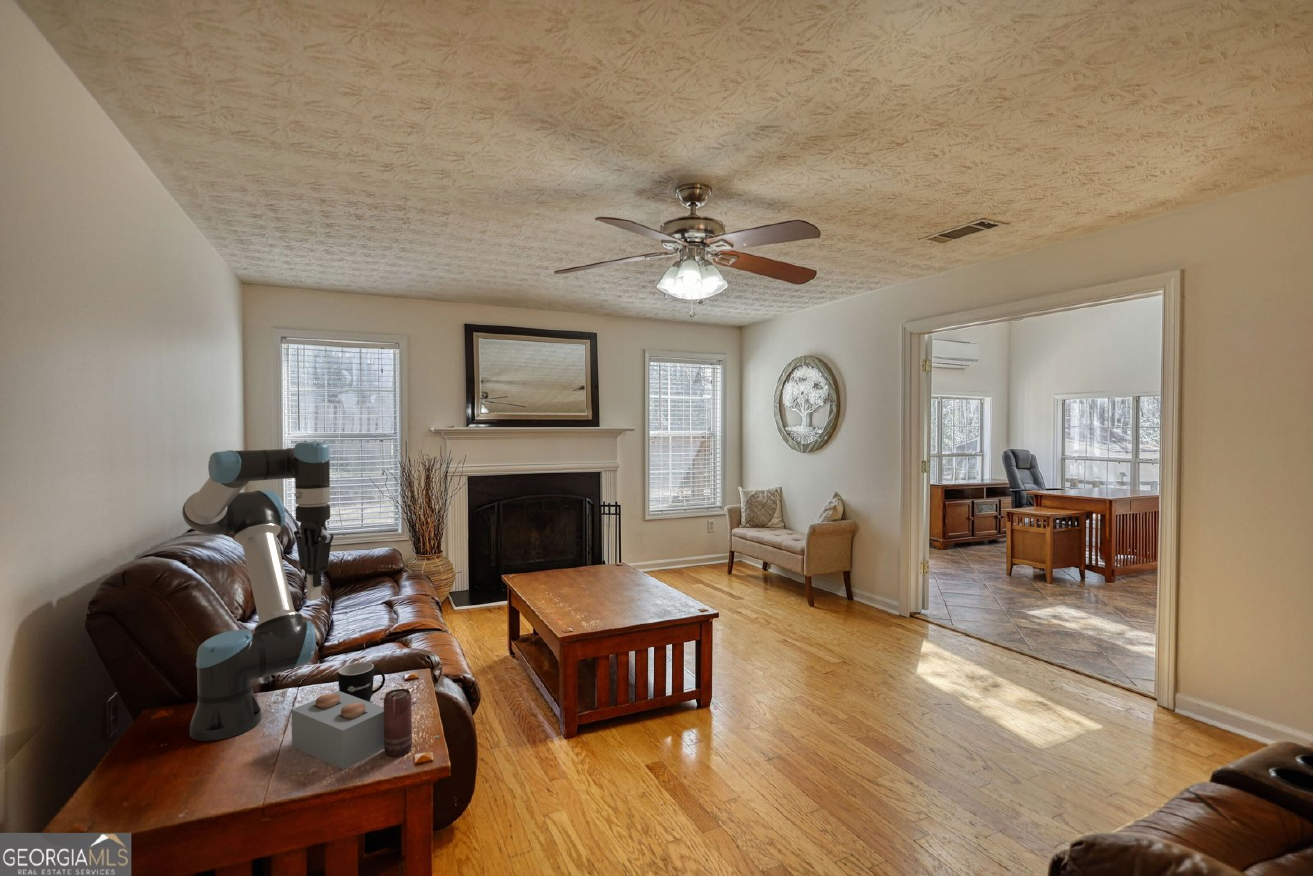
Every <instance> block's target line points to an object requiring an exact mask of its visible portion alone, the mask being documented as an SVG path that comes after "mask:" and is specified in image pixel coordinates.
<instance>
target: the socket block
mask: <svg viewBox="0 0 1313 876" xmlns="http://www.w3.org/2000/svg"><path fill="white" fill-rule="evenodd" d="M330 694H338V695H339V696H340V701H339V702H338V703H337V704H336V706H334V707H332V708H329V709H327V710H322V709H319V707H317V706H316V699H314V700H311V701H309V702H307V703H305V704H302V705H300V706H297V707H294V708H292V709H291V746H292V747H293V748H295V749H297V750H300V751H302V752H304V753H306V754H308V755H311V756H312V757H315V758H317V759H319V760H322V761H324V762H326V763H328V764H329V765H332V766H334V767H336V768H338V769H340V770H346V769H348V768H349V767H351V766H353V765H355V764H357V763H359V762H360V761H361V762H362V760H365V759H366V758H369V757H371V756H372V755H374V754H376V753H378V752H379V751H382V750H383V749H384V706H382V705H379V704H376V703H373V702H368V701H365V700H362V699H360V698H357V697H354V696H351V695H349V694H346V693H343V692H340V691H339V690H337V691H334V692H332V693H330ZM353 703H363V704H365V712H364V713H362V716H360V717H358V718H355V719H353V720H351V721H350V720H347V719H345V717H343V716H341V709H342V708H343V707H344V706H346V705H349V704H353Z"/></svg>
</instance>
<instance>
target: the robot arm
mask: <svg viewBox="0 0 1313 876" xmlns="http://www.w3.org/2000/svg"><path fill="white" fill-rule="evenodd" d="M330 460H331V455H330V446H329V444H328V443H327V442H324V441H303V442H302V441H301V442H297V443H296V444H294V447H287V448H285V449H284V448H279V449H277V448H276V449H275V448H274V449H254V450H253V449H252V450H251V449H249V450H242V449H241V450H223V451H216V452H215V451H214V452H213V453H212V454H210V456H209V460H208V464H207V465H208V476H209V477H208V478H207V480H206V481H205V483H204V484H203V485H202V487H201V488H200V489H199V490H198V491H197V492H194V493H193V494H191V495H190V496H189V497H188V498H187V499H186V501H185V502H184V504H183V506H182V517H183V520H184V522H185V523H186V524H187V526H189V527H190V528H191V529H193V530H195V531H197V532H199V533H202V534H204V535H209V536H210V535H212V536H213V535H214V536H215V535H216V536H220V535H228V534H229V535H230V534H232V535H233V539H234V541H235V542H236V543H237V544H241V545H242V549H243V554H244V559H245V563H246V568H247V573H248V578H249V580H250V586H251V590H252V595H253V599H254V604H255V609H256V612H257V618H258V622H257V624H255V627H254V628H253V629H254V630H253V631H254V633H252V631H251V630H250V629H246V628H245V629H243V628H242V629H241V628H240V629H237V630H235V629H232V630H229V631H225V632H221V633H219V634H216V635H214V636H212V637H210V638H208V639H206V640H205V641H204V642H202V643H201V644H200V645H199V646H198V648H197V652H196V653H197V654H196V662H195V667H196V677H197V678H196V679H197V680H196V681H197V682H196V683H197V687H196V688H197V704H196V707H195V709H194V712H193V715H192V719H191V721H190V724H189V737H190V738H191V739H193V740H195V741H199V742H211V741H220V740H225V739H229V738H232V737H236V736H238V735H241V734H243V733H246V732H248V731H250V730H252V729H253V728H255V727H256V726H258V725H259V724H260V723H261V720H262V709H261V707H260V705H259V702H258V700H257V697H256V696H255V693H254V690H253V688H254V687H253V684H254V683H253V682H254V680H256V679H261V678H265V677H267V676H272V675H275V674H278V673H279V674H280V673H282V672H286V671H289V670H295V669H297V668H300V667H302V666H305V665H307V664H309V663H310V662H311V660H312V659H313V657H314V654H315V650H316V644H317V643H316V642H317V640H316V636H317V635H316V629H315V625H314V624H313V622H312V621H310V620H305V621H304V617H303V614H302V613H300V612H298V611H296V610H295V607H294V604H293V599H292V595H291V590H290V586H289V583H288V578H287V574H286V571H285V570H286V569H285V566H284V561H283V559H282V554H281V551H280V550H281V549H280V545H279V542H278V538H277V536H278V535H279V534H280V532H281V531H282V527H283V526H284V525H285V522H286V514H285V512H286V509H285V505H284V503H283V501H282V499H281V497H280V496H279V494H277V493H276V492H275V491H272V490H259V489H258V490H253V491H245V492H244V491H242V490H243V489H244V488H245V486H247V484H248V483H250V482H257V481H269V480H270V481H272V480H286V479H287V480H288V479H294V487H295V493H294V496H295V504H296V505H297V506H296V507H295V508H294V510H295V521H296V522H298V523H300V524H299V529H298V530H295V531H293V536H294V538H295V541H296V542H295V543H296V548H297V555H298V562H299V568H300V570H301V571H302V570H303V571H304V573H305V574H306V600H307V601H309V602H311V601H312V602H313V601H317V600H320V599H322V573H325V572H326V571H328V569H329V562H330V561H329V560H330V555H331V548H332V547H331V546H332V542H333V540H334V534H333V533H329V532H328V531H327V529H328V527H327V524H326V522H327V521H328V520H330V518H331V505H330V504H329V503H330V502H331V485H330V484H331V483H330V482H331V480H330V478H331V477H330V474H331V473H330V472H331V471H330V469H331V467H330V466H331V465H330V464H331V462H330Z"/></svg>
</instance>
